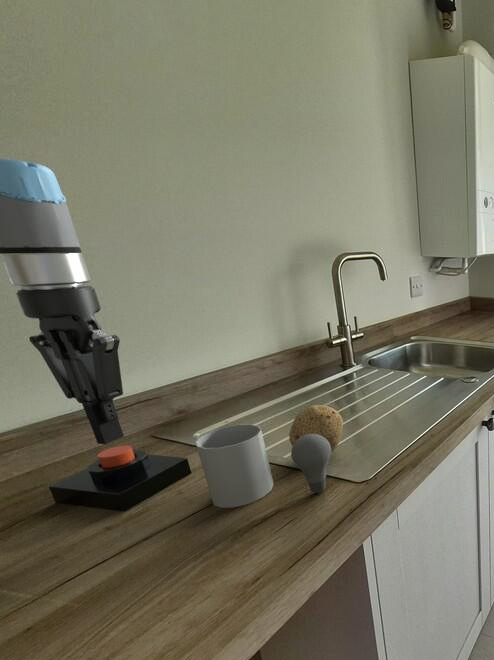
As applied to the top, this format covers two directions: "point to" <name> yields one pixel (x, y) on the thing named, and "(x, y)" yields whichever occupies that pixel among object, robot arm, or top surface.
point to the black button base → (121, 482)
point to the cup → (235, 465)
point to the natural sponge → (318, 424)
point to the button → (116, 456)
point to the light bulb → (312, 459)
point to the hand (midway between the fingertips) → (111, 439)
